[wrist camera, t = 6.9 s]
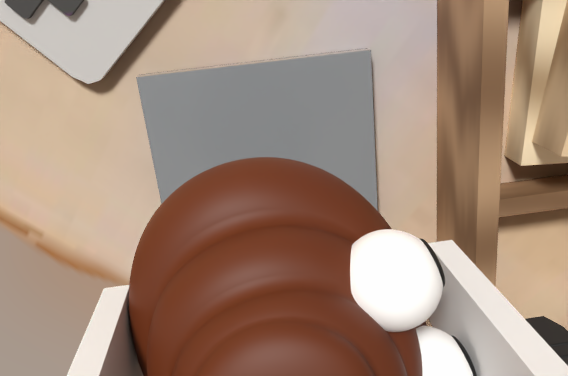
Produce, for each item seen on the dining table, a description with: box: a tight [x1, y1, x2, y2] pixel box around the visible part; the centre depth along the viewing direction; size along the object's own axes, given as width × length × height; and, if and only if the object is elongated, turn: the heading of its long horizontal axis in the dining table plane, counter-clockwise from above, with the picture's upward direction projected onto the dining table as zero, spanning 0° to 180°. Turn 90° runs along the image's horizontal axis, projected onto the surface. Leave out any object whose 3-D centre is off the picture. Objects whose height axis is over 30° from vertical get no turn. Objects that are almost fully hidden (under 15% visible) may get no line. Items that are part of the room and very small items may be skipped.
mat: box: [136, 48, 378, 211], centre depth 27 cm, size 11×11×1 cm
